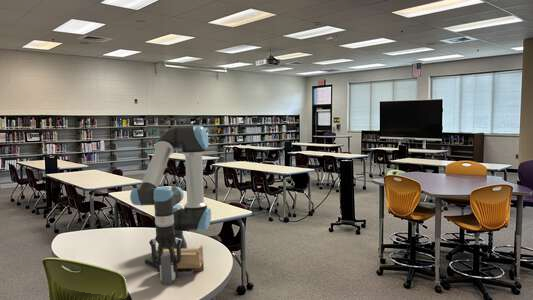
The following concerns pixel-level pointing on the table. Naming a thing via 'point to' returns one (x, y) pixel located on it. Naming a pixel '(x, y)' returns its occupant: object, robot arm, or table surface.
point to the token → (185, 272)
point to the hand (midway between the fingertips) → (168, 278)
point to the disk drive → (151, 262)
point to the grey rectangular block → (166, 269)
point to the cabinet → (190, 258)
